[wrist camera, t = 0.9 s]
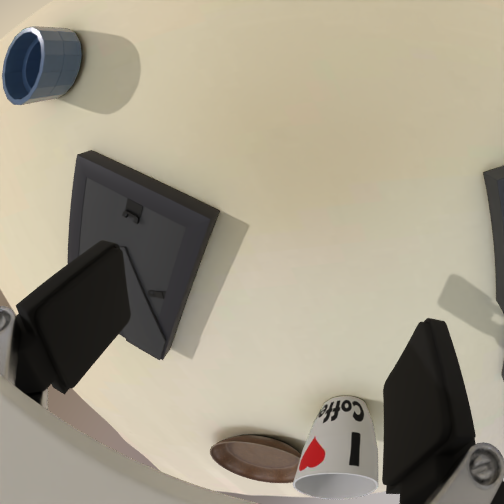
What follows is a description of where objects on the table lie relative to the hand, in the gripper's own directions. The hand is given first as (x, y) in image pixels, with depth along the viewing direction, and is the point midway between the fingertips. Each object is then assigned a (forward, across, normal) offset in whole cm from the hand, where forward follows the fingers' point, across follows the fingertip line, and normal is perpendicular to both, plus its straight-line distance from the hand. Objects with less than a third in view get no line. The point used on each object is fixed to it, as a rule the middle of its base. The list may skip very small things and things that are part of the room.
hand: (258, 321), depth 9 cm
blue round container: (+14, +24, -9) cm, 29 cm away
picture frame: (+14, +15, +10) cm, 23 cm away
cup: (+14, -9, +23) cm, 28 cm away
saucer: (+14, -2, +38) cm, 41 cm away
